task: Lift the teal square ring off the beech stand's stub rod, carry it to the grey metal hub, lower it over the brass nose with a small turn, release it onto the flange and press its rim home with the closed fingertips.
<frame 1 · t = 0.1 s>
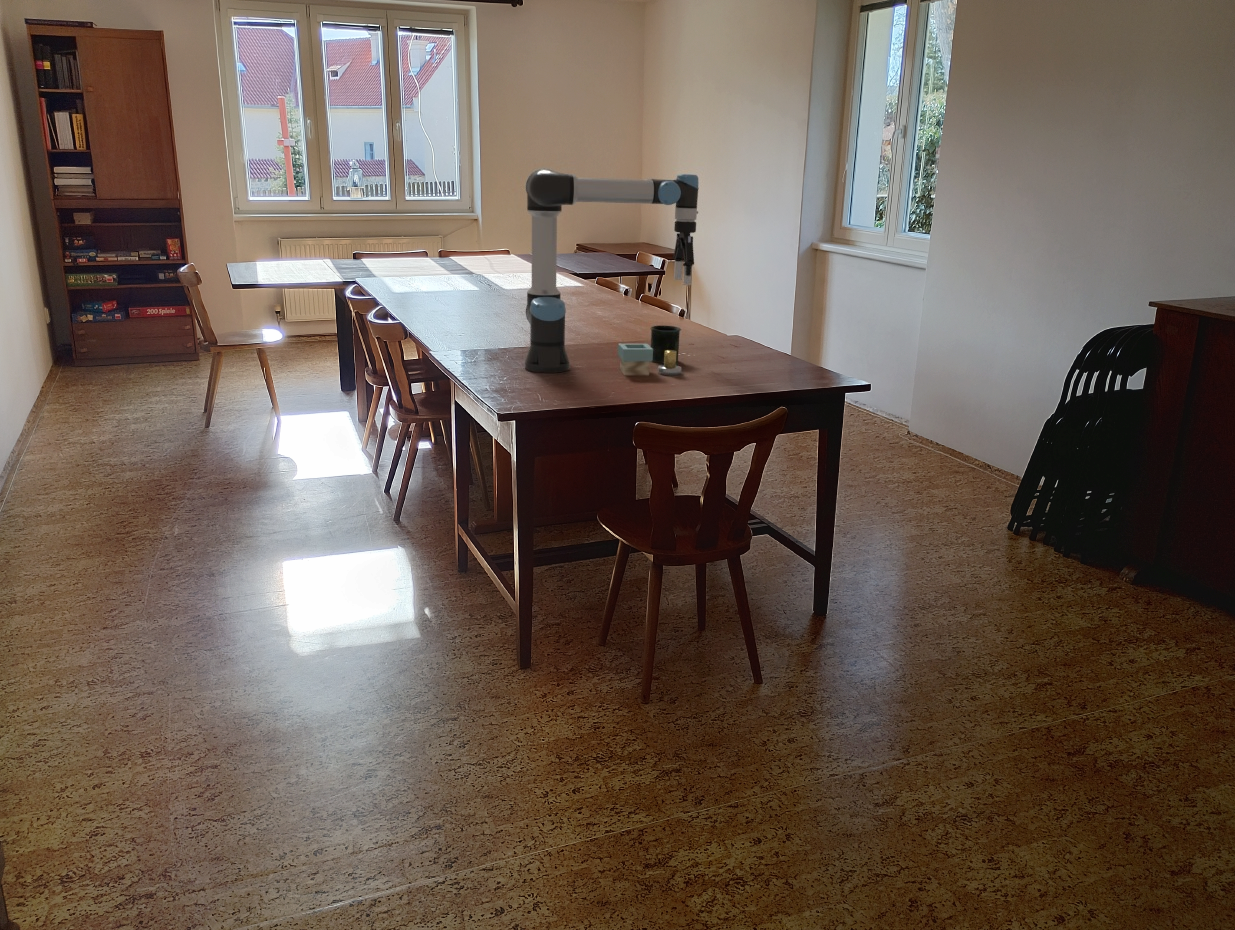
hand: (682, 282, 334), 28 cm above the table, fingers open, 13 cm apart
teal square ring: (635, 358, 319), point 5 cm above the table, touching stand
stand: (634, 372, 321), on the table
hub: (669, 373, 322), on the table
mug: (661, 360, 342), on the table
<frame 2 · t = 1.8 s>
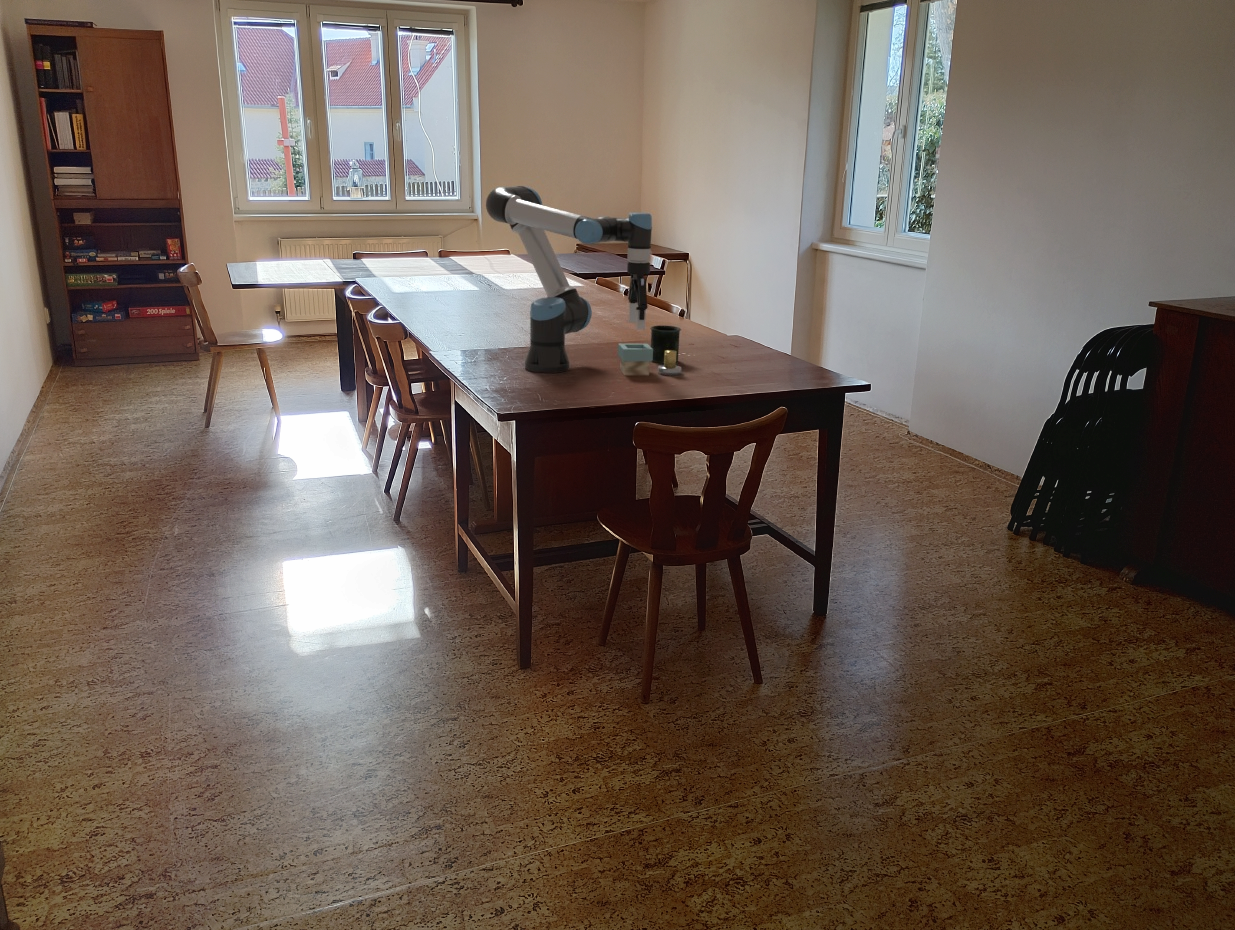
hand: (636, 326, 316), 16 cm above the table, fingers open, 13 cm apart
nothing on the table moved.
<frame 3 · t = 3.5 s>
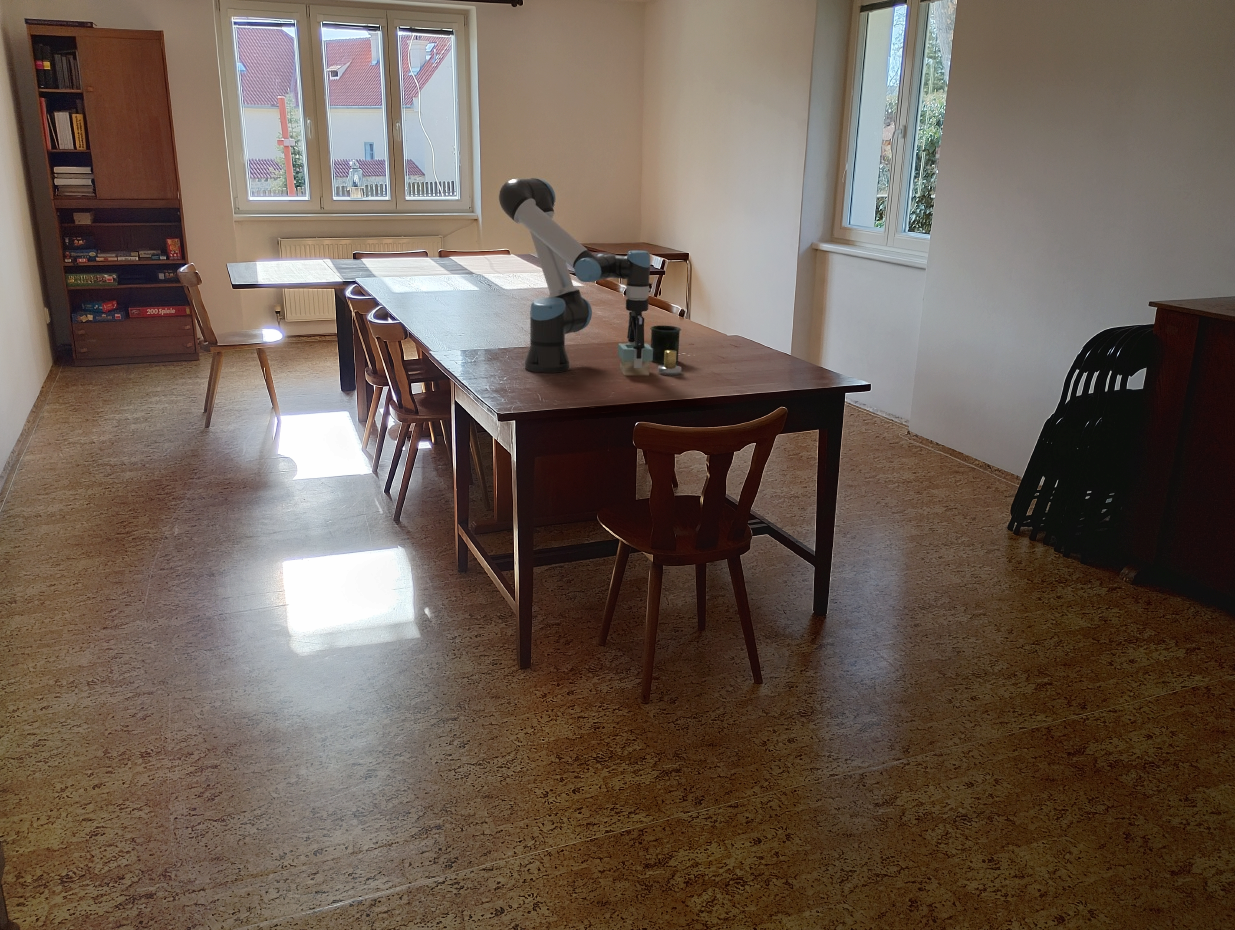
hand: (634, 364, 320), 3 cm above the table, fingers closed on teal square ring, 10 cm apart
teal square ring: (634, 358, 319), point 5 cm above the table, touching gripper, stand
everything else where it was.
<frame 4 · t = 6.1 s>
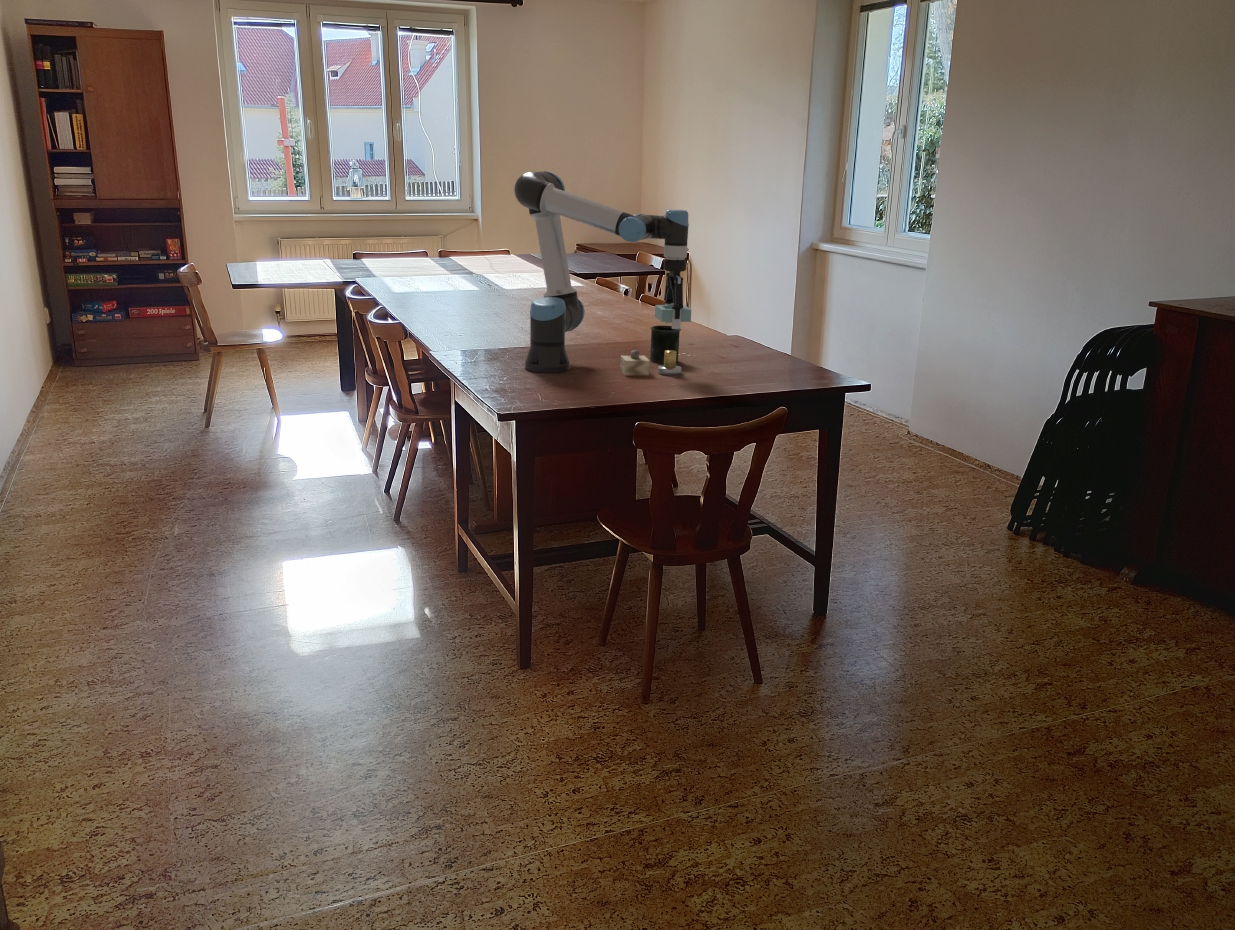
hand: (672, 325, 317), 16 cm above the table, fingers closed on teal square ring, 10 cm apart
teal square ring: (672, 319, 316), point 18 cm above the table, touching gripper
everything else where it was.
when the fingers open (2 cm above the table, at t = 8.7 s): teal square ring drops 3 cm, resting on hub.
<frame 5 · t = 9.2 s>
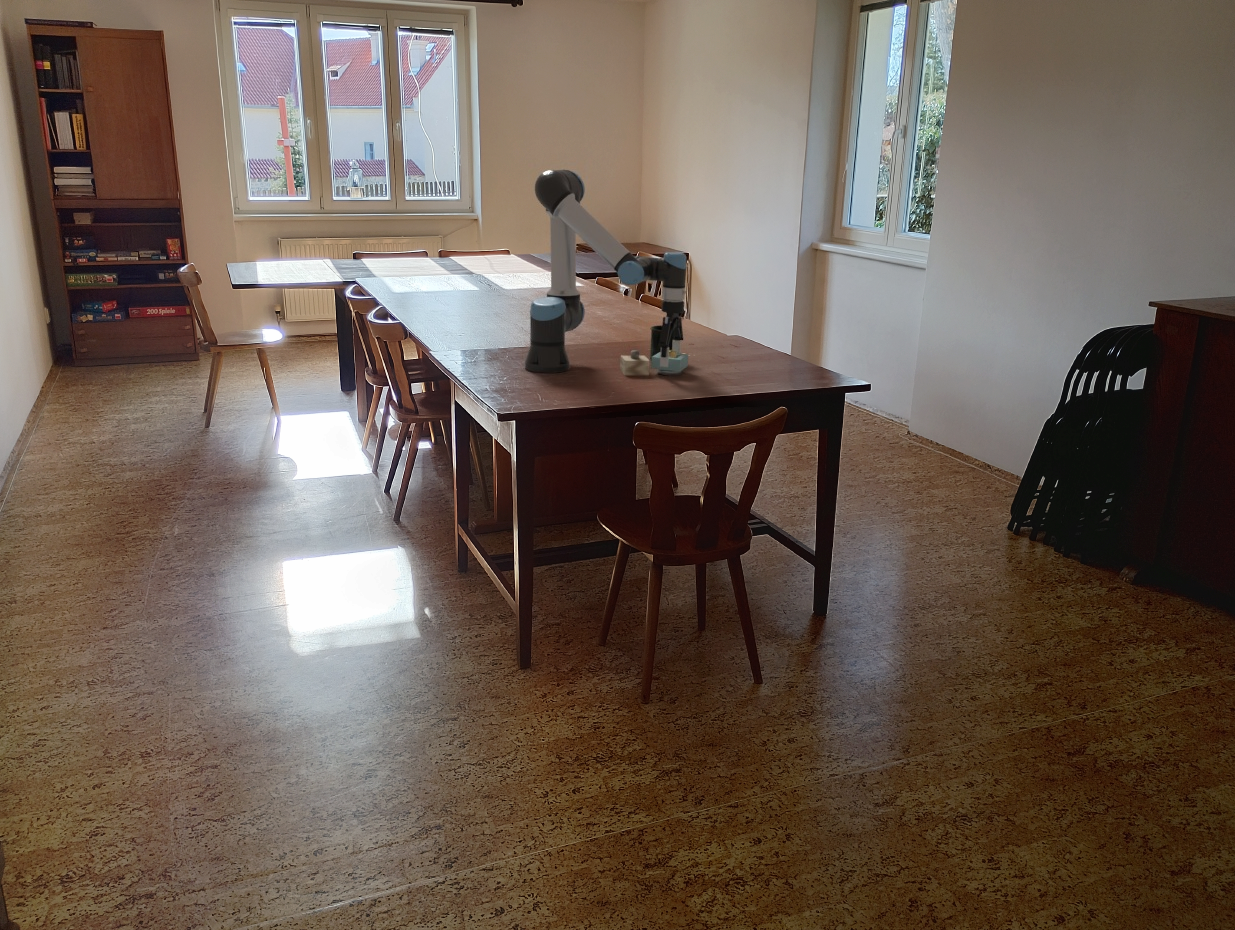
hand: (669, 362, 321), 4 cm above the table, fingers open, 13 cm apart
teal square ring: (669, 367, 321), point 2 cm above the table, touching hub
everything else where it was.
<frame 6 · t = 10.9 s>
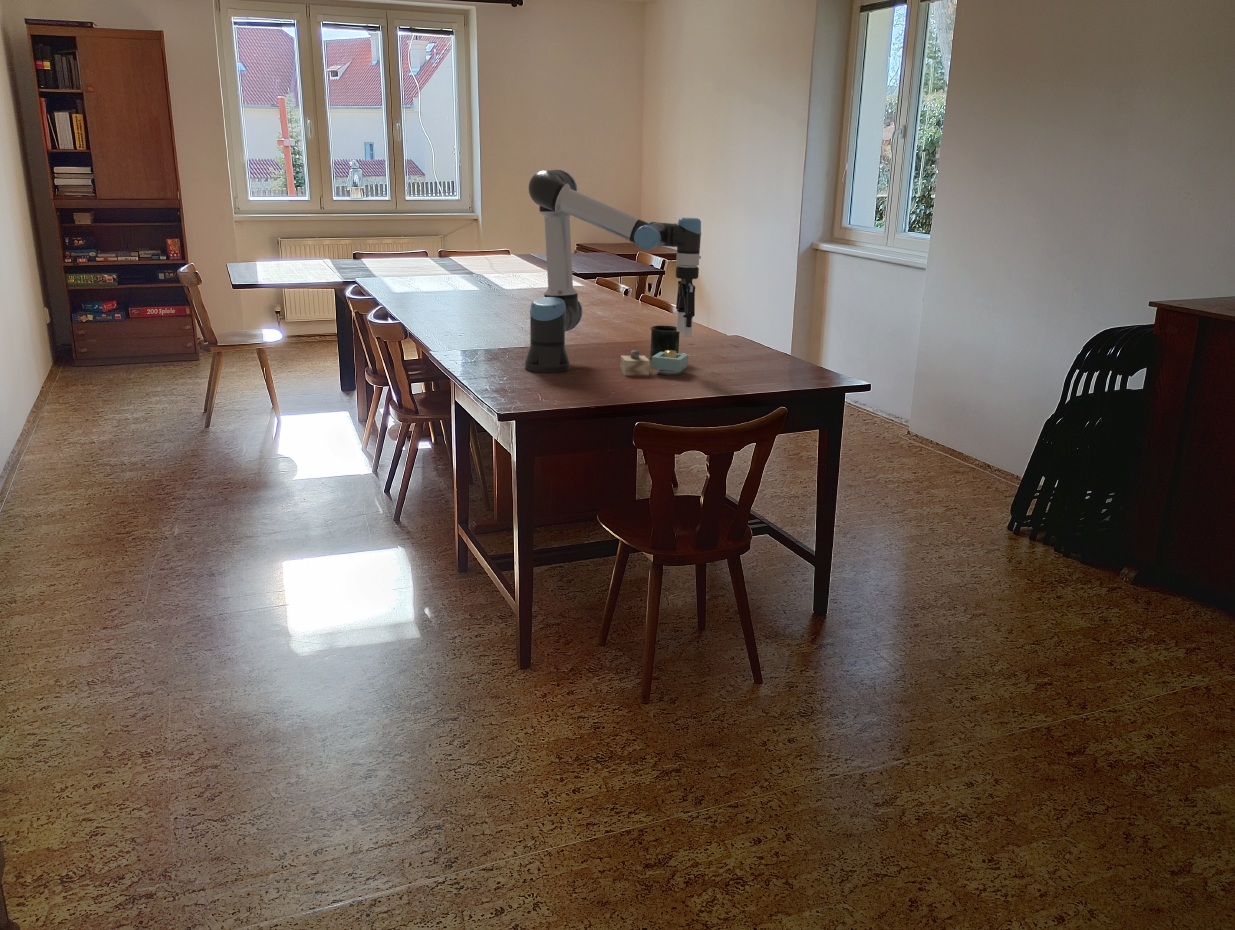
hand: (683, 333, 318), 13 cm above the table, fingers open, 9 cm apart
nothing on the table moved.
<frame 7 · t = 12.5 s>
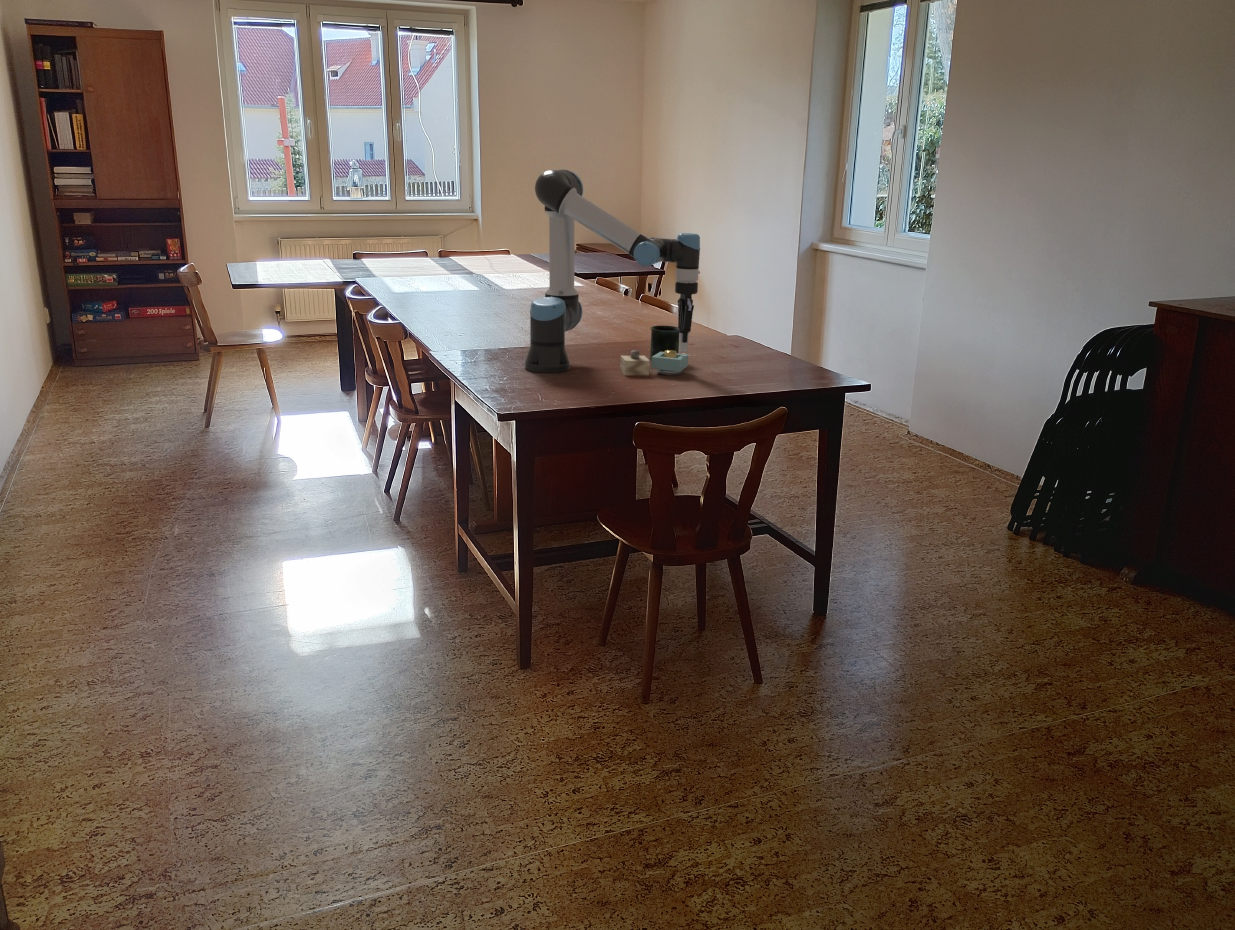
hand: (683, 351, 320), 7 cm above the table, fingers closed
nothing on the table moved.
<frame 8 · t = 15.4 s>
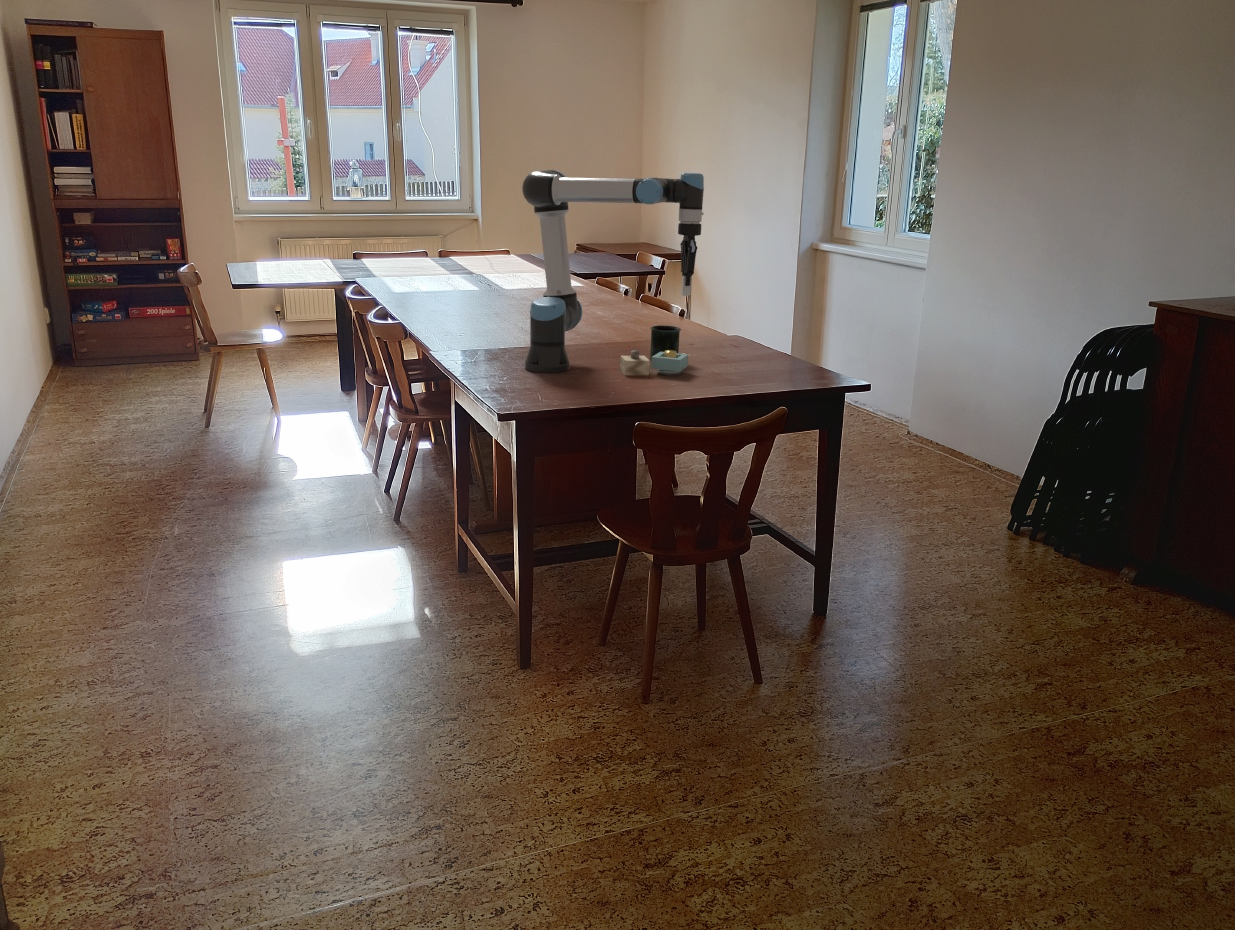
hand: (686, 295, 314), 26 cm above the table, fingers closed
nothing on the table moved.
at the end: teal square ring 0.0 cm off-centre on the hub, point 2.0 cm above the hub's base; teal square ring tilted 0°; the gripper is holding nothing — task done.
